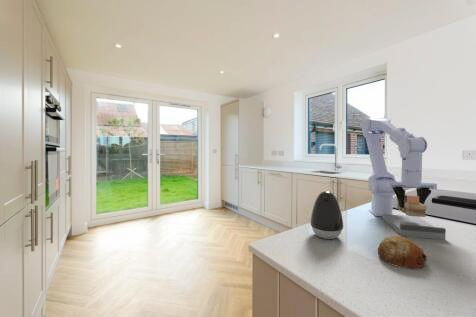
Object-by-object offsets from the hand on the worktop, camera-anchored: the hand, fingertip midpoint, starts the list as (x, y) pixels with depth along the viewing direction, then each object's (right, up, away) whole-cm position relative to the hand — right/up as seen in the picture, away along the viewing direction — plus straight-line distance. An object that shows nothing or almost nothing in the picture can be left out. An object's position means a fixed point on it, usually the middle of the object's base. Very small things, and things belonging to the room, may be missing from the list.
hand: (410, 207), depth 80 cm
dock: (0, -8, 0) cm, 8 cm away
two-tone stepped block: (0, -2, 0) cm, 2 cm away
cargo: (0, +2, 0) cm, 2 cm away
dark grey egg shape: (-33, -8, -6) cm, 35 cm away
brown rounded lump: (-20, -9, -22) cm, 31 cm away
